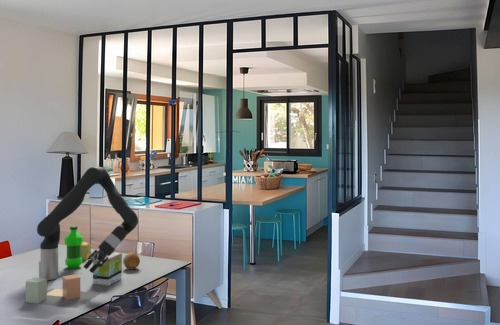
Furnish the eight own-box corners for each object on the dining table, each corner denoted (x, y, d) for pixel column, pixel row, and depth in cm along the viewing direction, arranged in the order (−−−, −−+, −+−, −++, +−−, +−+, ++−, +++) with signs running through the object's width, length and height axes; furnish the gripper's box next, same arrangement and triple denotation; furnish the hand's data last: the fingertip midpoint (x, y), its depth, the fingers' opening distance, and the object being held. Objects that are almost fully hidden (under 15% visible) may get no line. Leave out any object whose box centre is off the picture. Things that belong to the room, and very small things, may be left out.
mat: (23, 303, 234) (23, 302, 234) (52, 289, 255) (52, 288, 255) (76, 309, 228) (76, 307, 228) (101, 294, 249) (101, 293, 249)
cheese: (91, 256, 327) (91, 241, 326) (86, 260, 316) (86, 245, 316) (75, 256, 327) (75, 241, 326) (70, 260, 316) (70, 245, 315)
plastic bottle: (86, 266, 301) (86, 226, 300) (71, 270, 292) (71, 228, 291) (75, 264, 306) (75, 224, 305) (61, 267, 297) (60, 226, 296)
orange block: (66, 300, 238) (66, 279, 238) (62, 296, 243) (62, 276, 243) (80, 297, 242) (80, 277, 242) (76, 294, 247) (76, 274, 247)
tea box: (109, 286, 263) (109, 258, 262) (92, 284, 265) (92, 257, 264) (122, 278, 278) (122, 252, 277) (105, 277, 280) (105, 251, 279)
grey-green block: (25, 302, 234) (25, 281, 234) (34, 297, 241) (34, 277, 240) (38, 303, 233) (38, 282, 232) (46, 298, 239) (46, 278, 239)
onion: (119, 270, 294) (119, 253, 294) (128, 266, 304) (128, 250, 303) (134, 271, 291) (134, 255, 291) (142, 267, 301) (142, 251, 300)
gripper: (99, 237, 257) (77, 262, 251) (110, 242, 246) (87, 268, 240) (109, 246, 261) (88, 271, 254) (120, 251, 250) (98, 277, 243)
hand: (87, 269), depth 247 cm, fingers open, 8 cm apart
